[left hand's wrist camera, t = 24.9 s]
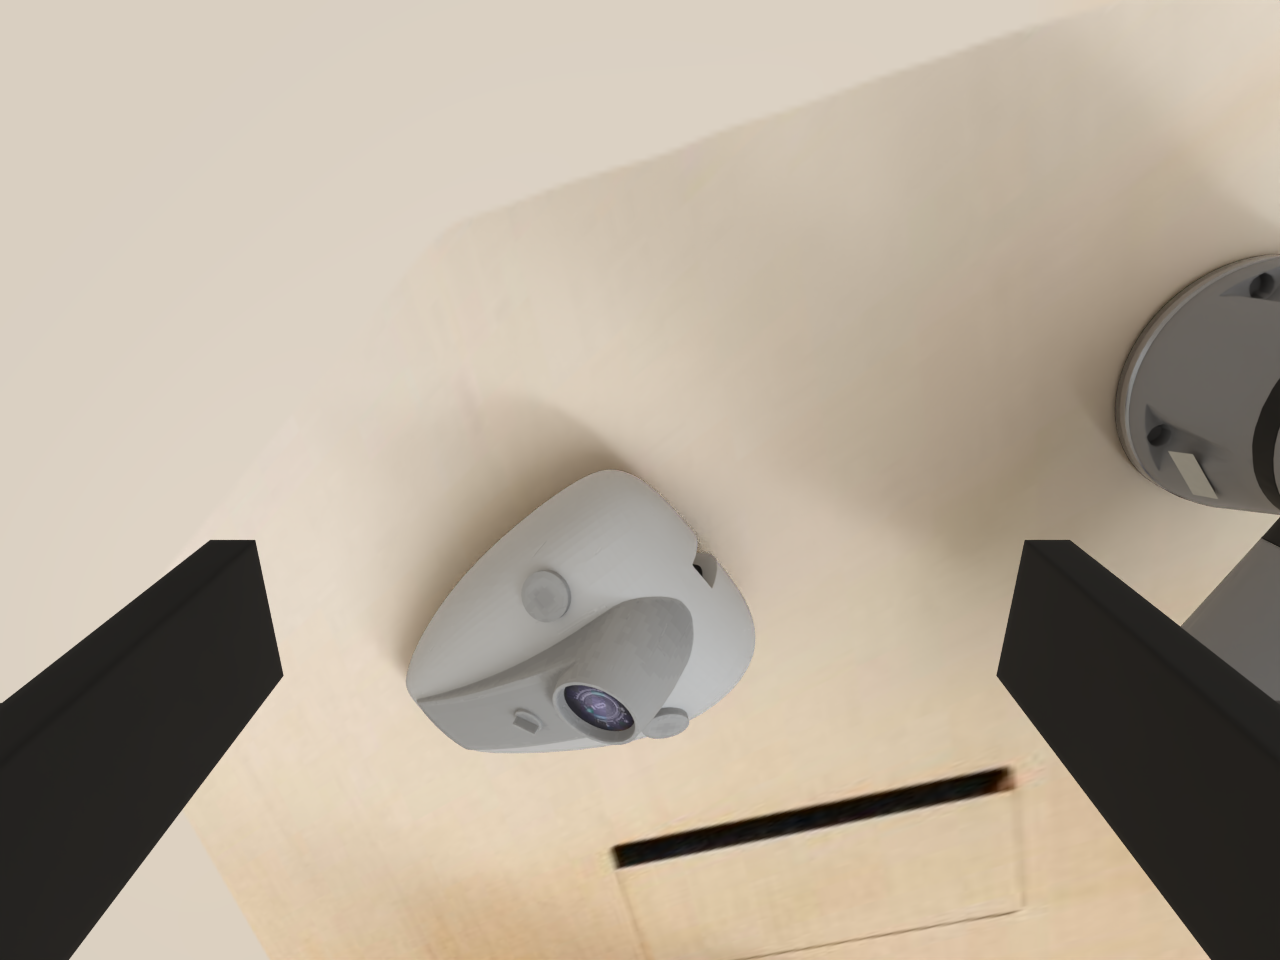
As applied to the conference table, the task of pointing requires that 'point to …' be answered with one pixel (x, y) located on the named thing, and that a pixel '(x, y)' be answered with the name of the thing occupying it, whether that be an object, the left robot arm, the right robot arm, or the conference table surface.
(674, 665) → the projector
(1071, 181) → the conference table surface
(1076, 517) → the conference table surface
